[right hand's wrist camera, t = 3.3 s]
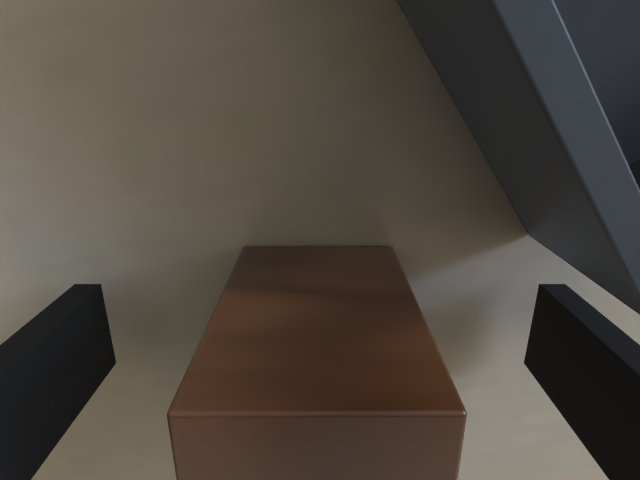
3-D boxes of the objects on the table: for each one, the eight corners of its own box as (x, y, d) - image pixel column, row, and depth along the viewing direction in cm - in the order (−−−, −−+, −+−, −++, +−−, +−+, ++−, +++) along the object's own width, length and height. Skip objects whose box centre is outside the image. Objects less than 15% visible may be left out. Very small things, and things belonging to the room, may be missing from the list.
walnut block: (251, 371, 14) (194, 610, 8) (242, 245, 13) (163, 413, 6) (384, 370, 14) (440, 609, 8) (392, 245, 13) (469, 412, 6)
